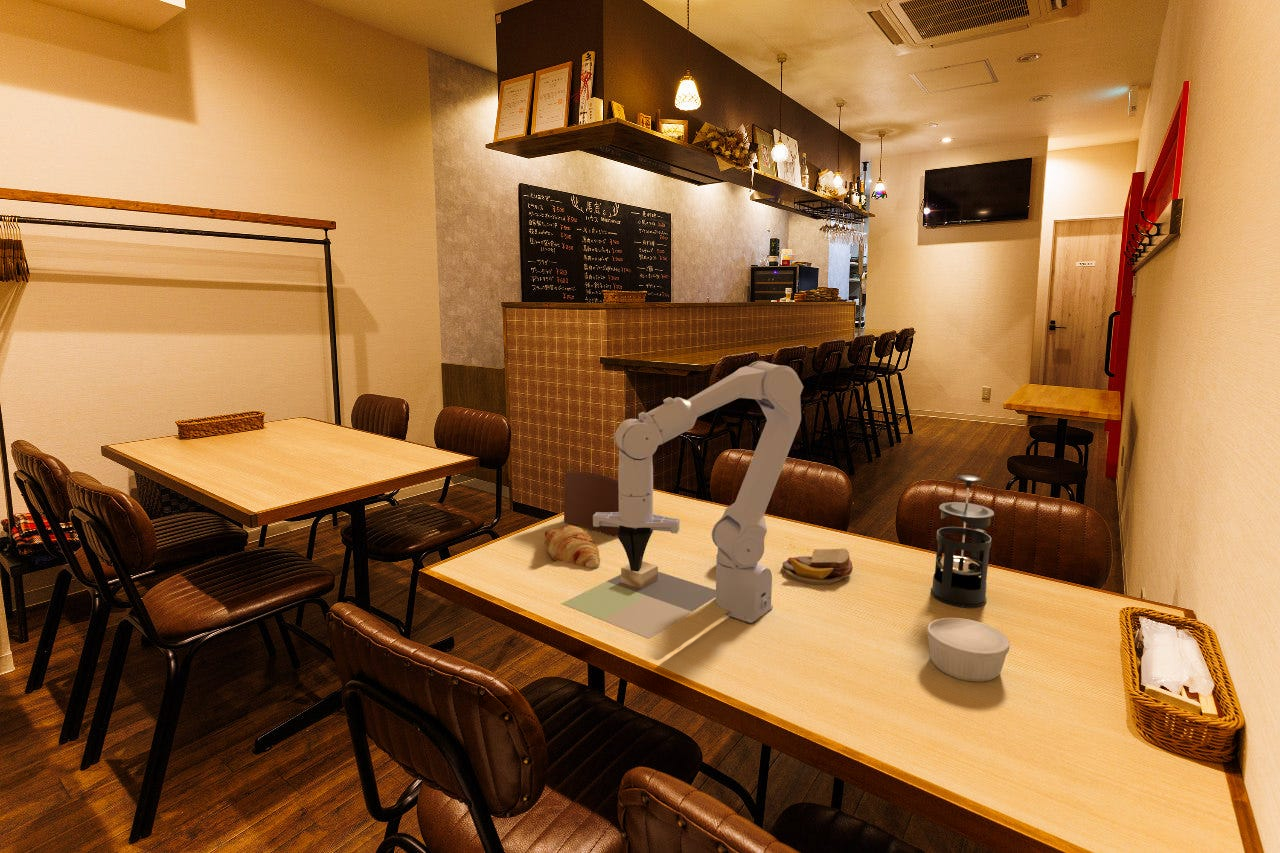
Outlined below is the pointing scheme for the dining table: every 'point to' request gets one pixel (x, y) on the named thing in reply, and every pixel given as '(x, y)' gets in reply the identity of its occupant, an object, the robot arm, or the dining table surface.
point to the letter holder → (589, 499)
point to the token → (640, 575)
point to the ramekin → (967, 648)
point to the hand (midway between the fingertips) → (636, 569)
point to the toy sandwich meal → (820, 566)
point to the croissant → (572, 546)
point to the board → (642, 603)
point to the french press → (962, 568)
